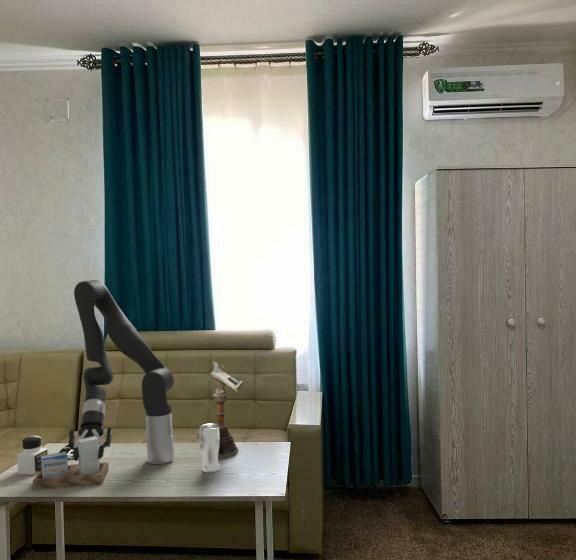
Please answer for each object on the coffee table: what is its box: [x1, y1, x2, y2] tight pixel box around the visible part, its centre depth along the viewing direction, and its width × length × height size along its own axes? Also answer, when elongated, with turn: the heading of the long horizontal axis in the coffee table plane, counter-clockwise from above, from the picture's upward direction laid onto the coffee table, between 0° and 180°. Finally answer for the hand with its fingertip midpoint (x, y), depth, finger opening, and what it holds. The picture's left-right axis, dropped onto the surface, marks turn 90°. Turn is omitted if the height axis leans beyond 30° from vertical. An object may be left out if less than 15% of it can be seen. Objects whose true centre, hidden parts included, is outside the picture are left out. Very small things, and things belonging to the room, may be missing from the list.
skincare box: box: [76, 436, 100, 475], centre depth 185 cm, size 6×4×12 cm
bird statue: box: [209, 361, 243, 460], centre depth 206 cm, size 17×13×35 cm
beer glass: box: [198, 423, 221, 474], centre depth 189 cm, size 7×7×15 cm
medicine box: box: [41, 451, 69, 478], centre depth 183 cm, size 8×4×9 cm, turn 117°
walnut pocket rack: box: [32, 461, 110, 491], centre depth 184 cm, size 21×12×3 cm, turn 99°
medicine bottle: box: [16, 435, 49, 476], centre depth 194 cm, size 7×7×12 cm
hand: (87, 458), depth 184 cm, fingers closed on skincare box, 7 cm apart
